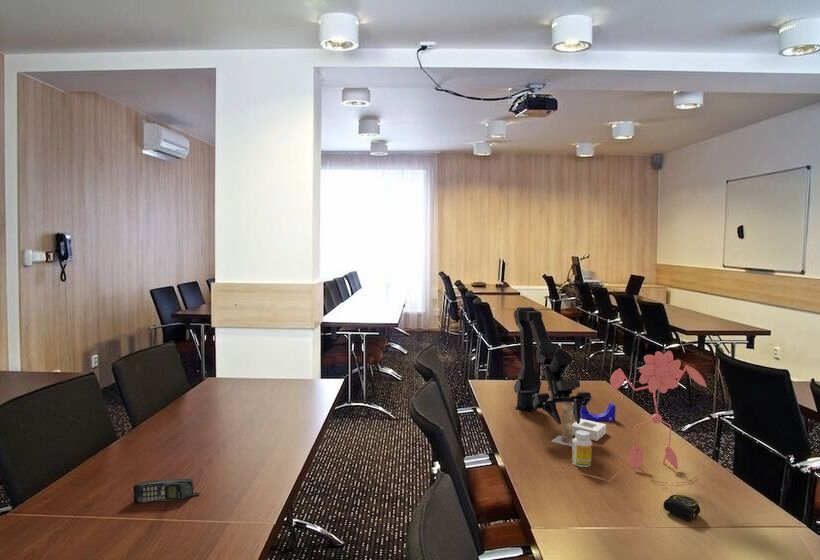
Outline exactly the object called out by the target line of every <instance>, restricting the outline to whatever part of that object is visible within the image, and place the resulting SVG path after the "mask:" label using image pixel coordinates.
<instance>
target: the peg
mask: <svg viewBox="0 0 820 560" xmlns="http://www.w3.org/2000/svg"><path fill="white" fill-rule="evenodd" d="M561 418H562V419H561V424H562V425H561V436H562V441H563V442H565V443H571V442H572V438H573V435H572V428H573V423H574V420H573V419H574V415H573V403H571V402H563V403H562V417H561Z"/></svg>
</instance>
